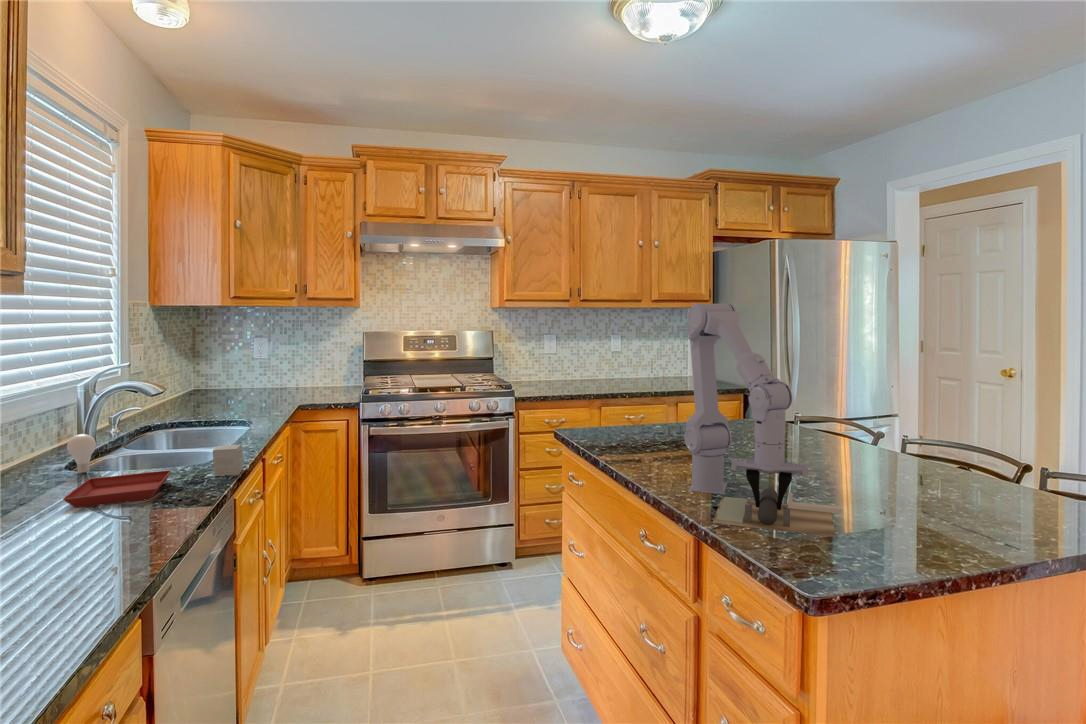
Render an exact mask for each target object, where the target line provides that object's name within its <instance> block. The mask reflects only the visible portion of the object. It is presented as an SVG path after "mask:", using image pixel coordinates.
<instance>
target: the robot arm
mask: <svg viewBox="0 0 1086 724" xmlns="http://www.w3.org/2000/svg"><path fill="white" fill-rule="evenodd" d="M739 321H740V314H739V313H738V311H737V309H736V307H735V306H734V304H732V303H731V302H724V303H701V302H699V303H697V302H696V303H694V304H693V305H691V307H690V309H689V310H688V312H687V314H686V325H687V337H688V340H689V345H690V357H691V368H692V369H691V370H692V371H691V372H692V382H693V383H692V384H693V385H692V387H693V396H694V409H695V412H694V413H693V414H691V416H689V417H688V418H687V420H686V421H685V430H684V431H685V432H684V436H683V437H684V445H685V446H686V448H687V449H688V451H689V453H691V458H692V459H691V483H690V486H689V488H688V492H689V491H690V492H699V493H709V494H710V493H711V494H719V495H721V494H722V495H723V494H725V490H726V487H727V485H728V482H725V481H724V474H725V473H724V468H725V467H724V466H725V465H724V462H725V460H724V459H725V458H724V457H725V454H727V450H728V449H729V448H730V447H731V445H732V443H733V442H732V441H733V435H732V432H731V429H730V425H729V419H728V418H727V416H725V415H724V414H722V413H721V412H720V409H719V400H718V399H719V397H718V387H717V386H718V385H717V372H716V362H715V361H716V360H715V348H714V346H715V344H716V342H718V340H719V339H722V340H723V342H724V343H725V345H726V346H727V347H728V349H729V350H730V352H731V353H732V354H733V356H734V357H735V358H736V360H737V363H736V368H735V369H736V370H737V373H738V374H739V376H740V377H741V379H742V380H743V382H744V384H745V386H746V388H747V389H748V391H749V392H750V395H749V396H748V403H749V406H750V408H751V411H752V413H751V415H752V417H753V420H754V454H753V455H754V459H736V458H735V459H731V471H735V472H736V471H745V477H746V480H747V482H748V484H749V486H750V488H751V491H752V494H753V497H754V501H755V503H756V507H758V508H759V505H760V499H761V494H760V477H761V475H760V474H761V473H769V474H778V492H777V494H778V501H777V510H781V505H782V504H783V500H784V497H785V494H786V491H787V489H788V488H789V487H790V485H791V482H792V481H793V476H802V477H804V478H805V477H806V478H808V477H809V465H808V464H800V463H795V462H794V463H793V462H787V461H785V446H786V445H785V442H786V441H785V440H786V439H785V438H786V436H785V435H786V410H788V409H789V408H790V407H791V405H792V403H793V393H792V391H791V388H790V386H789V384H788V383H786V382H784V381H781V380H780V379H779V378H776V377H775V375H774V373H773V371H772V370H771V369H770V367H769V366H768V364H767V362H766V359H765V358H764V357H763V356H762V355H761V354H759V353H756V352H755V353H754V352H753V351H752V349H751V347H750V345H749V342H748V340H747V339H746V337H745V335H744V332H743V331H742V329H741V327H740V325H739Z"/></svg>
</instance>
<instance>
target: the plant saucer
mask: <svg viewBox="0 0 1086 724" xmlns="http://www.w3.org/2000/svg"><path fill="white" fill-rule="evenodd" d="M171 472H172V470H161V471H160V470H159V471H150V472H141V473H132V474H131V473H130V474H122V475H120V474H119V475H112V476H111V475H110V476H103V477H93V478H89V479H87V480H85V481H84V482H82V483H81V484H80V485H79V486H77V487H76V488H75V489H73V490H72V491H70V492H69V493H68V494H67V495H65V496H64V497H63V498H62V500H64V502H66V503H67V504H69V505H70V506H72V507H73V508H85V506H86V507H93V505H95V506H101V505H100V504H104V505H110V504H109V503H113V504H119V503H118V502H122V503H127V502H126V501H131V502H136V501H135V500H140V501H145V500H144V499H148V500H151V499H152V498H153V497H154V496H155V494H156V493H157V492H158V491H159V490H160V488H161V487H162V486H163V484H164V483H165V482H166V480H167V479H168V478H169V476H170V475H171ZM150 498H151V499H150Z"/></svg>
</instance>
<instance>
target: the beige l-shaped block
mask: <svg viewBox="0 0 1086 724" xmlns="http://www.w3.org/2000/svg"><path fill="white" fill-rule="evenodd" d="M793 496H794V494H793V492H790V491H789V492H788V493H787V504H788V508H792V509H802V510H811V511H821V512H830V513H832V514H842V511H843V510H842V505H841V506H840V505H832V504H831V505H828V504H820V503H808V502H801V501H800V502H798V501H793V499H794V497H793Z"/></svg>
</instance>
